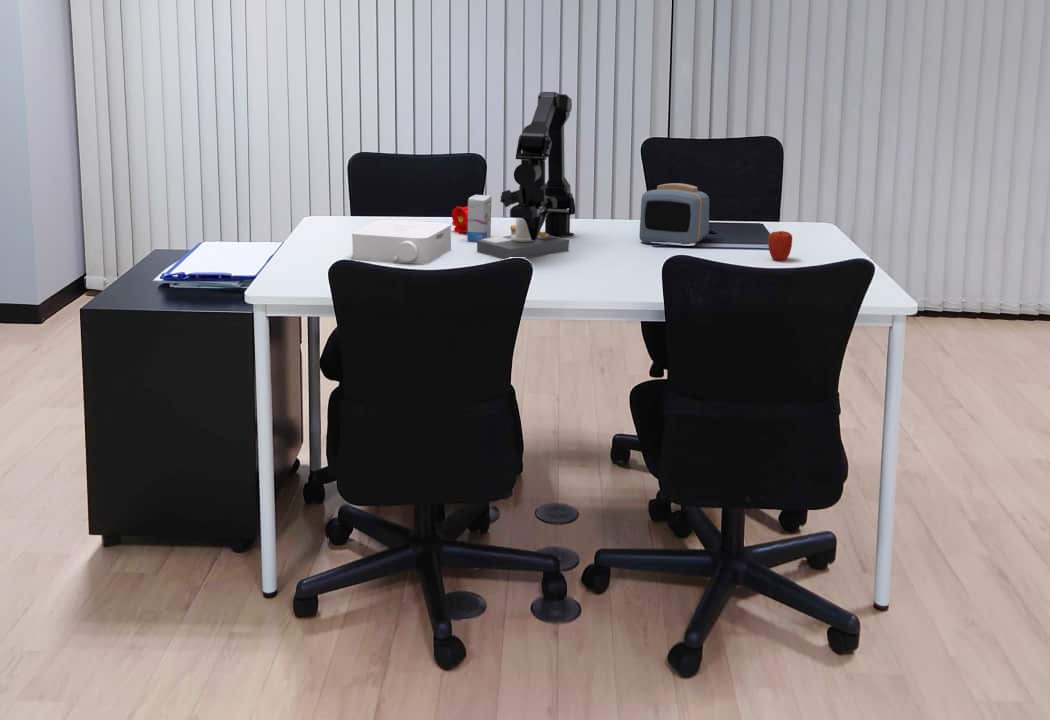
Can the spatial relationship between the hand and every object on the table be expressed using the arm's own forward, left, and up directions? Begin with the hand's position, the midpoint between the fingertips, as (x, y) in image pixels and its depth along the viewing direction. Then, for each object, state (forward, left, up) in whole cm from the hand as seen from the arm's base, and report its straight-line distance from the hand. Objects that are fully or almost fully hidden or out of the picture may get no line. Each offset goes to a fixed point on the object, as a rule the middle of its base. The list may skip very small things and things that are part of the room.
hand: (533, 239), depth 356 cm
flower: (-7, -36, -5) cm, 37 cm away
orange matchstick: (-5, -7, 0) cm, 9 cm away
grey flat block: (-2, -6, -4) cm, 8 cm away
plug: (-2, -6, -4) cm, 8 cm away
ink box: (-3, -26, -5) cm, 27 cm away
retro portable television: (-44, +9, -5) cm, 45 cm away
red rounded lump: (-48, +43, -5) cm, 64 cm away
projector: (+25, -23, -5) cm, 35 cm away
